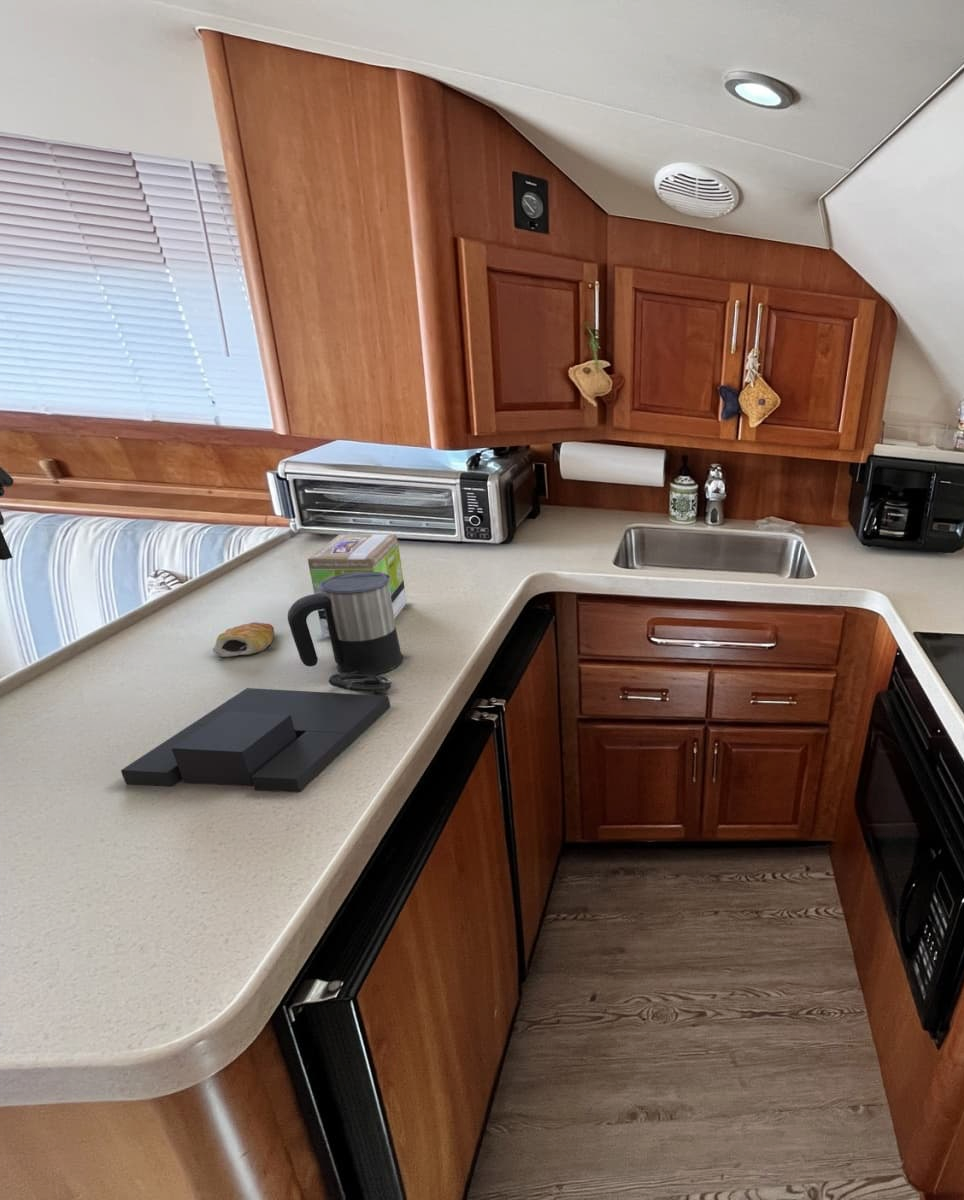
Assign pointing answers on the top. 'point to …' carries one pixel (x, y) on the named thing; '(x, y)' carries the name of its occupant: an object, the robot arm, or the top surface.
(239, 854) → the top surface
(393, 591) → the tea box
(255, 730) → the black block
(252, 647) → the pastry
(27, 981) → the top surface
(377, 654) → the milk frother
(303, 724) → the dark notched slab
